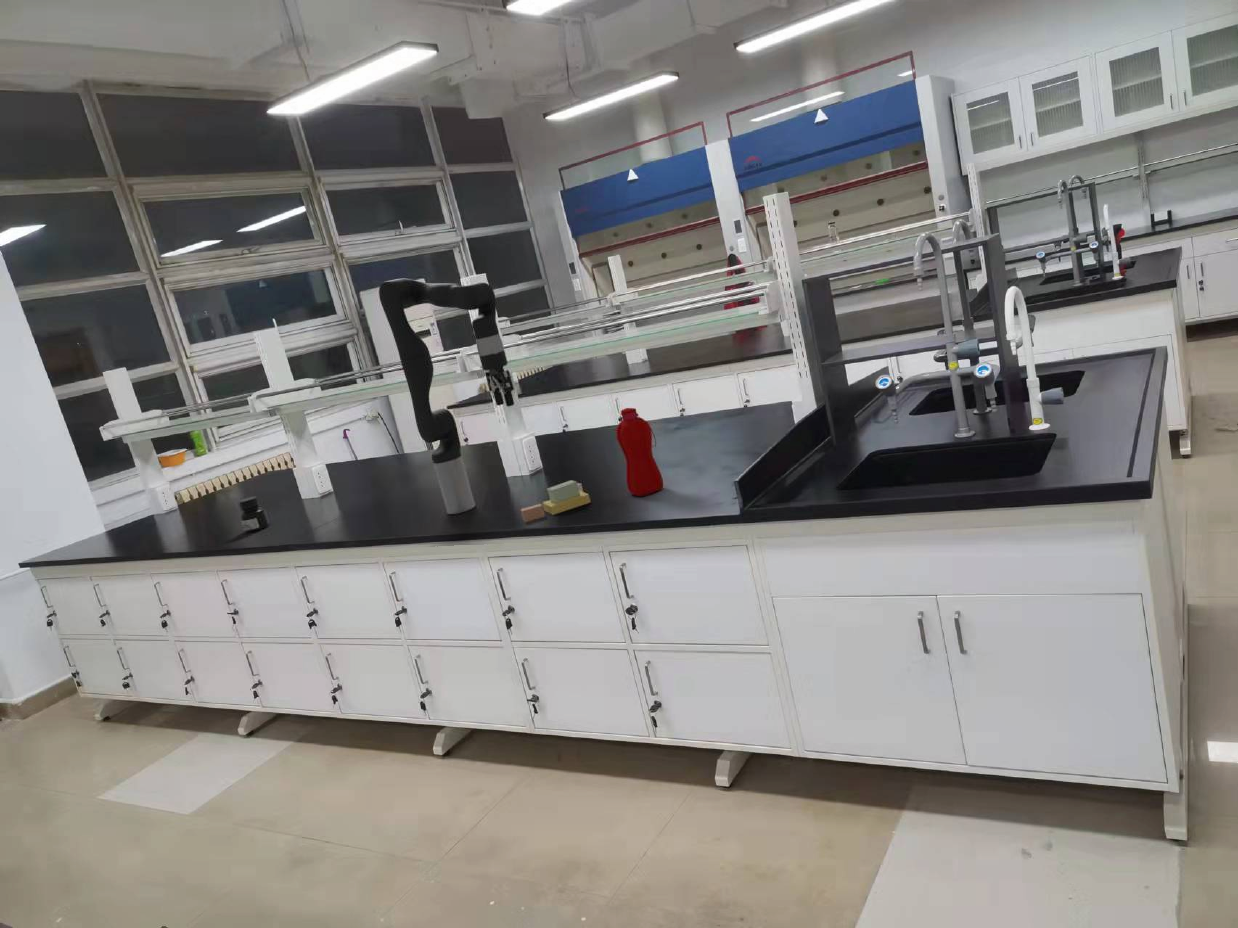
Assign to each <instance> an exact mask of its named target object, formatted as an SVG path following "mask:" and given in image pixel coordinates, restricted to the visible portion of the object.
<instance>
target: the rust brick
mask: <svg viewBox="0 0 1238 928" xmlns="http://www.w3.org/2000/svg"><path fill="white" fill-rule="evenodd" d="M520 511H521V515H522V519H523V523H528V522H531V521H534V519H535V520H538V519H542V518H544V517H546V516H545V515H546V514H545V512H544V511H545V510H544V507H543V504H542V503H538V504H534V505H530V506H526V507H523V508H521V509H520Z"/></svg>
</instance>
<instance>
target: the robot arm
mask: <svg viewBox="0 0 1238 928" xmlns="http://www.w3.org/2000/svg"><path fill="white" fill-rule="evenodd" d="M378 296H379V301H380V304H381V307H382V309H383V312H384V315H385V317H386V320H387V322H388V325H389V327H390V330H391V333H392V337H393V339H394V342H395V345H396V348H397V351H398V355H399V359H400V363H401V368H402V370H403V373H404V376H405V379H406V383H407V387H408V391H409V393H410V398H411V402H412V408H413V412H414V414H413V415H414V419H415V424H416V428H417V430H418V433H419V435H420V437H421V439H422V441H424V442H425V443H428V444H432V443H435V442H438V441H439V445H438V447H437V448H436V449H435V450H434V451H433V452H432V454H431V460H432V463H433V467H434V470H435V474H436V476H437V480H438V485H439V488H440V490H441V495H442V498H443V502H444V505H445V510H446V512H447V514H448V515H456V514H460V513H463V512H467V511H470V510H472V509H474V508H475V506H476V503H475V500H474V497H473V493H472V488H471V485H470V483H469V482H470V481H469V477H468V474H467V471H466V468H465V467H466V466H465V463H464V460H463V456H462V453H461V448H462V447H461V441H460V437H459V435H460V434H459V431H458V427H457V422H456V420H455V418H454V416H453V415H454V414H452V413H451V411H450V410H449V409H446V408H439V409H436V410H434V411H432V408H431V403H430V392H431V391H430V390H431V386H432V382H433V379H434V378H433V376H434V365H433V361H432V356H431V353H430V350H429V347H428V346H427V344H426V343H425V341H424V340H423V339H422V338H421V337H420V336H419V335H418V334H417V333H416V332H415V330H414V329H413V328H412V326H411V324H410V322H409V321H408V317H407V316H406V313H405V312H406V311H405V309H409V308H412V307H414V306H419V305H426V304H429V305H430V304H431V305H433V306H435V307H438V308H448V309H450V308H455V309H460V310H463V311H474V310H475V311H476V310H478V312H477V317H476V318H474V319H473V320H472V322H471V325H472V330H473V334H474V339H475V342H476V343H475V344H476V349H477V352H478V356H479V361H480V363H481V367H482V370H483V371H486V372H485V373H484V375H485V377H486V382H487V386H488V391H489V392H491V393H492V394H493V397H494V400H495V404H496V406H501V405H504V403H505V406H506V407H513V406H514V405H515V402H514V398H513V394H512V392H513V391H514V390H515V387H514V383H513V381H512V376H511V373H510V371H509V370H508V369H507V370H505V369H504V367H506V366H507V365H508V360H507V355H506V351H505V347H504V344H503V343H504V342H503V340H502V338H501V335H500V332H499V327H498V325H497V320H496V319H497V318H496V317H497V316H496V315H497V306H496V303H497V302H496V301H497V300H496V294H495V291H494V289H493V288H492V287H491V285H490V284H489V283H487V282H478V283H474V284H468V285H462V284H460V283H450V282H449V283H446V282H445V283H444V282H443V283H441V282H440V283H437V282H436V283H433V282H432V283H430V282H429V283H428V282H422V281H418V280H416V279H411V278H404V277H403V278H401V277H400V278H396V279H390V280H385V281H383V282H382V283H381V284H380V286H379V288H378ZM502 394H503V395H502ZM503 397H504V399H503ZM504 400H505V401H504Z"/></svg>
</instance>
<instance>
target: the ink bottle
mask: <svg viewBox="0 0 1238 928" xmlns="http://www.w3.org/2000/svg"><path fill="white" fill-rule="evenodd" d="M238 506H239V508H240V511H241V515H240V521H241V524H242V527H243V530H244V532H245V533H247V532H249V533H254V531H255V532H258V531H261V530H263V529H262V528H264V529H266V528H268V527H269V526H270V523H269V522H270V521H269V519H268V516H267V512H266V510H265V509H264V508H263V507H261V504H260V502H259V498H258V496H257V495H256V496H249V497H246V498H242V499H241V500H239V501H238ZM268 525H269V526H268ZM267 526H268V527H267ZM265 527H266V528H265ZM257 530H258V531H257Z"/></svg>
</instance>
